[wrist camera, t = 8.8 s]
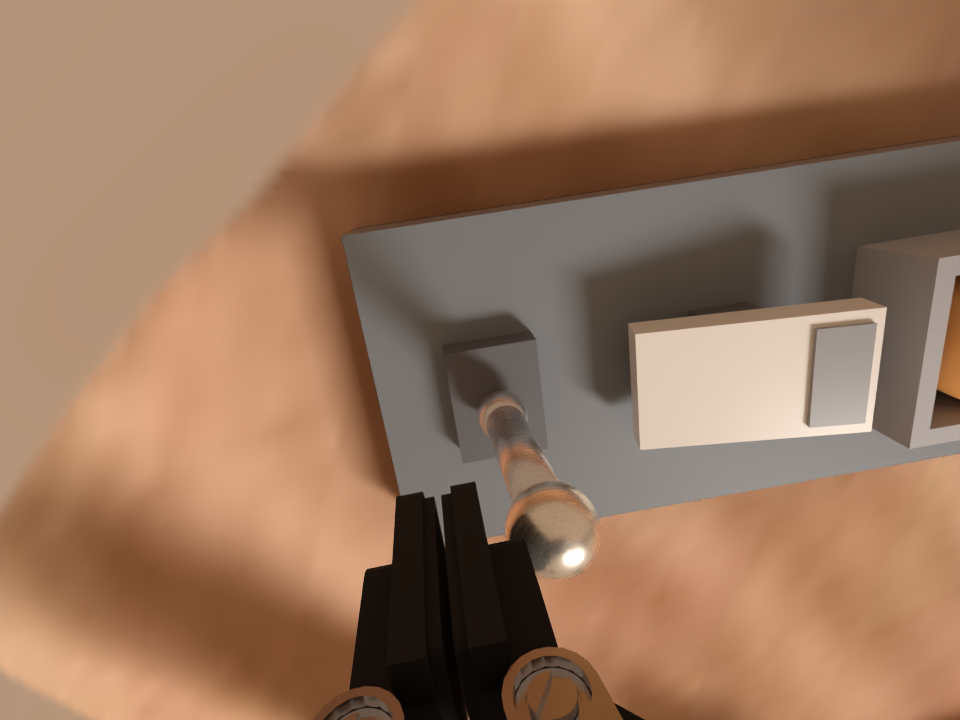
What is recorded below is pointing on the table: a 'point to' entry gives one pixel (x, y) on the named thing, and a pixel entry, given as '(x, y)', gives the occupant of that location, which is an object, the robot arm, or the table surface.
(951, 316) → the push button
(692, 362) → the rocker switch
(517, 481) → the toggle lever
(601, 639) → the table surface
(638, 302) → the control panel
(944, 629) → the table surface
